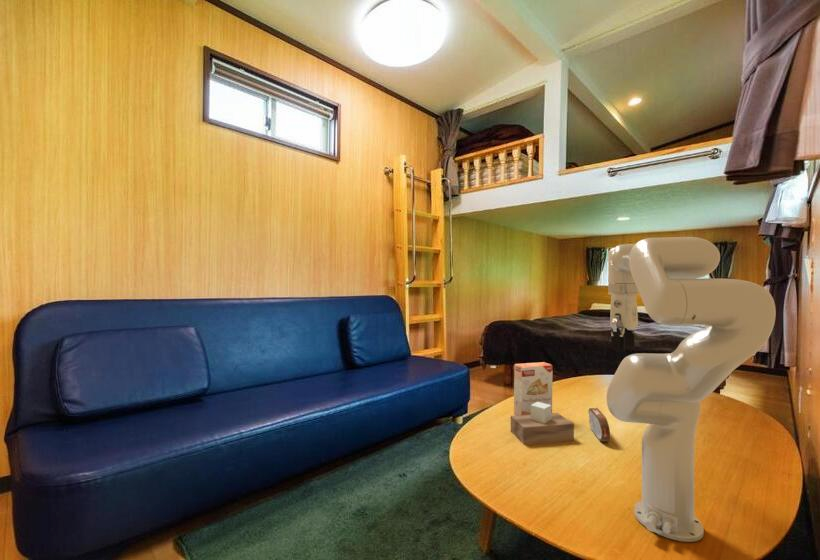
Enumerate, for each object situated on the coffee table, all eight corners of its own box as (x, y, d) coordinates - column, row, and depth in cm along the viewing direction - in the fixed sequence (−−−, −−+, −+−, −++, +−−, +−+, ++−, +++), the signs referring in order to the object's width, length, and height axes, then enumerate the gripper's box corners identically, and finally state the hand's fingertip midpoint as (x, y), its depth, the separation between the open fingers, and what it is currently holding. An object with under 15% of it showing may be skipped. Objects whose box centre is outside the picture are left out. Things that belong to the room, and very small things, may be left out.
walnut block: (573, 441, 120) (573, 423, 120) (523, 445, 117) (523, 427, 117) (557, 429, 129) (557, 412, 129) (510, 432, 127) (510, 415, 127)
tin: (611, 446, 115) (611, 420, 115) (600, 445, 116) (600, 419, 116) (596, 427, 130) (596, 404, 130) (587, 426, 131) (587, 404, 131)
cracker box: (522, 421, 136) (521, 367, 135) (513, 415, 141) (513, 363, 141) (553, 417, 139) (553, 364, 139) (543, 412, 145) (543, 361, 145)
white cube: (544, 423, 120) (544, 408, 120) (530, 419, 124) (530, 405, 124) (551, 419, 123) (551, 405, 123) (537, 415, 127) (537, 401, 127)
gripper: (629, 290, 94) (629, 354, 94) (645, 289, 106) (646, 346, 106) (598, 290, 100) (599, 350, 100) (617, 288, 112) (618, 342, 112)
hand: (623, 348), depth 103 cm, fingers open, 9 cm apart
